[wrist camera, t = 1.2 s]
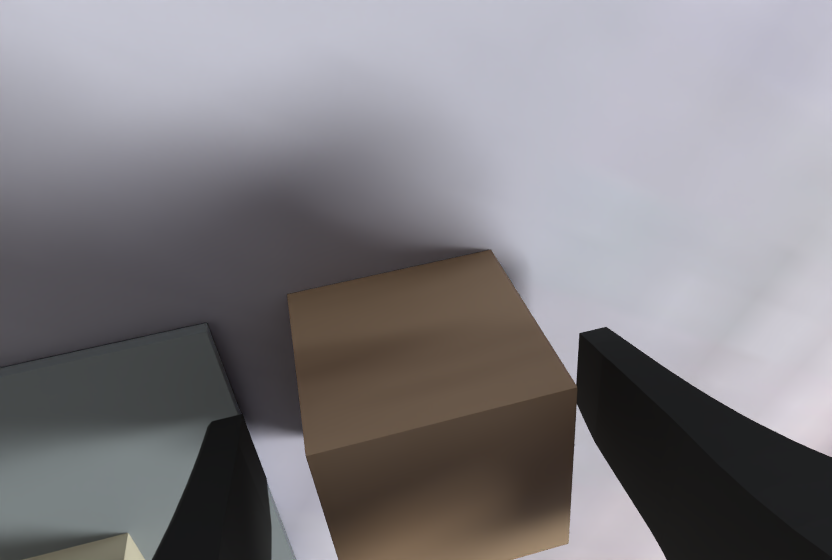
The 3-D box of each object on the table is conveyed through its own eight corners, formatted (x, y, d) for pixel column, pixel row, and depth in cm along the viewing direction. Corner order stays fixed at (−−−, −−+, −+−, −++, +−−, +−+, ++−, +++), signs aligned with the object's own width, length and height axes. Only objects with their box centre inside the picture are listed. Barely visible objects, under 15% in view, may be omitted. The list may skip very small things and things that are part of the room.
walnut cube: (496, 392, 17) (568, 543, 13) (326, 434, 16) (353, 605, 13) (489, 248, 14) (576, 387, 11) (287, 292, 14) (305, 456, 10)
